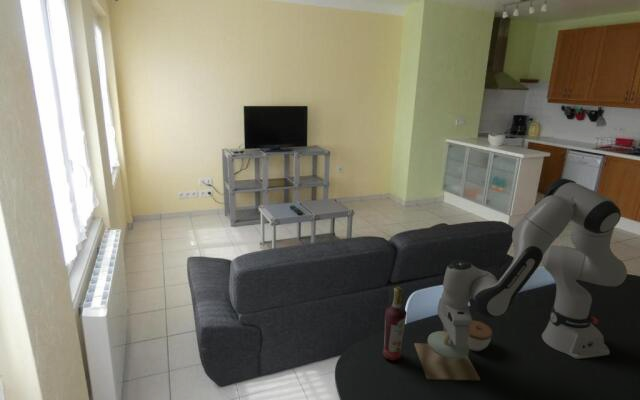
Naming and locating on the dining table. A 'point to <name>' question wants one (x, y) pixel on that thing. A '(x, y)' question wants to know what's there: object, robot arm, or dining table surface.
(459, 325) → the robot arm
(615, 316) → the dining table surface
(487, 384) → the dining table surface
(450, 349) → the lid
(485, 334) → the lidded jar
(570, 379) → the dining table surface
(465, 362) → the plate
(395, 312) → the liquor
